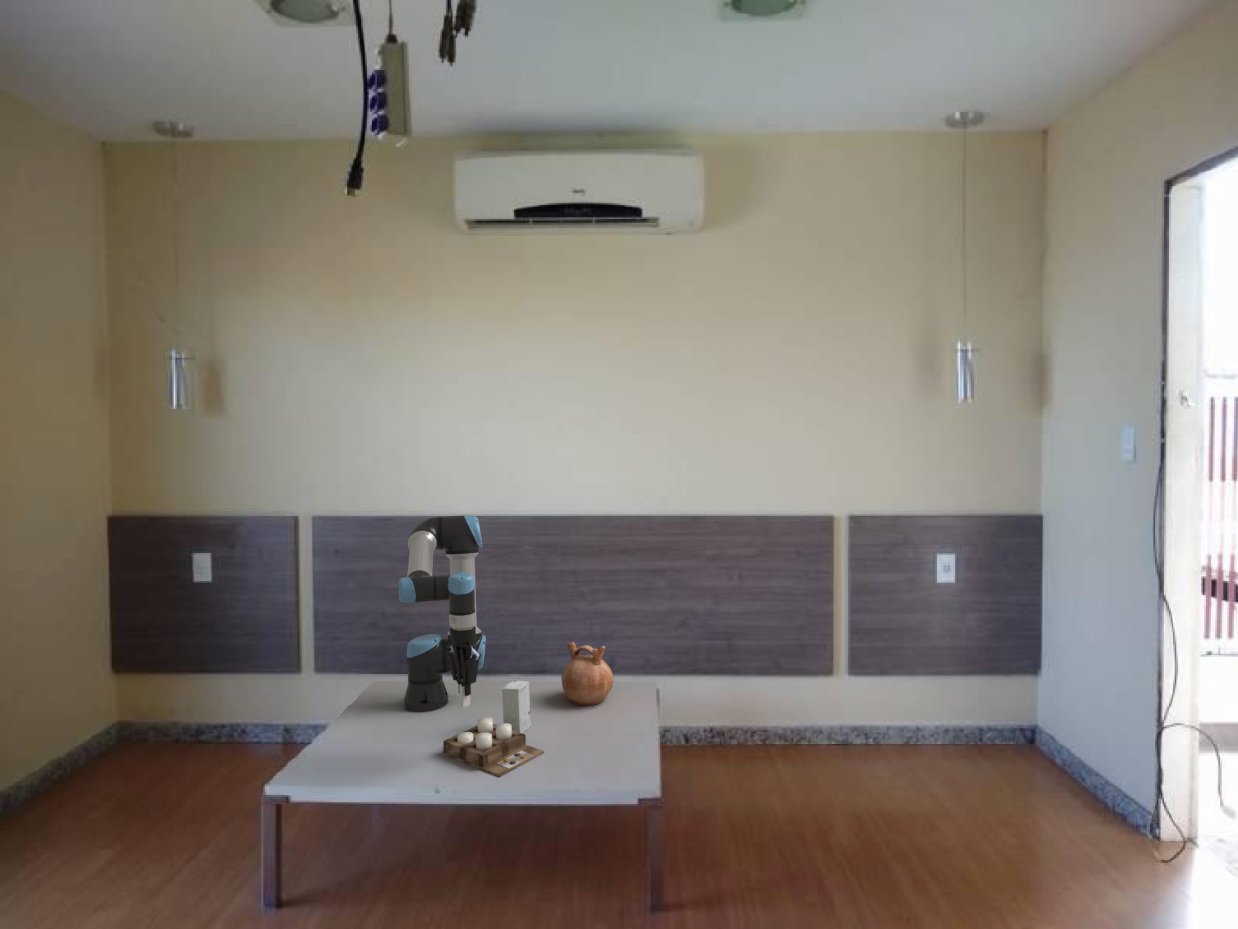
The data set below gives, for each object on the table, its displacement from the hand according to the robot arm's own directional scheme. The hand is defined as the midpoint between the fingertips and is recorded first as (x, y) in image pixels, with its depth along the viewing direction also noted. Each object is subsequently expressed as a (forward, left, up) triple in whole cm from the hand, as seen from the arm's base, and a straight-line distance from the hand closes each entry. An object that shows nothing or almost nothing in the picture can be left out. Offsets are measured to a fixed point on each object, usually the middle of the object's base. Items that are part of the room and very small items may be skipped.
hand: (465, 705), depth 223 cm
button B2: (+8, +8, -11) cm, 16 cm away
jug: (+3, +53, -15) cm, 55 cm away
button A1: (0, 0, -13) cm, 13 cm away
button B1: (+8, 0, -11) cm, 14 cm away
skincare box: (+1, +20, -15) cm, 25 cm away
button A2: (0, +8, -11) cm, 14 cm away
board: (+7, +4, -14) cm, 16 cm away
